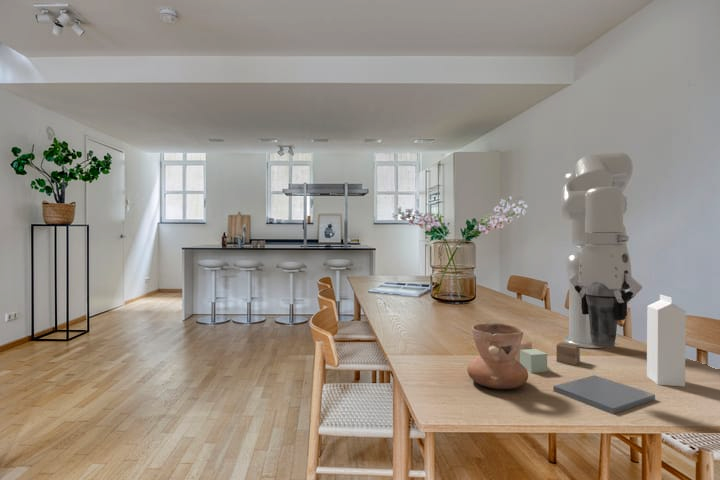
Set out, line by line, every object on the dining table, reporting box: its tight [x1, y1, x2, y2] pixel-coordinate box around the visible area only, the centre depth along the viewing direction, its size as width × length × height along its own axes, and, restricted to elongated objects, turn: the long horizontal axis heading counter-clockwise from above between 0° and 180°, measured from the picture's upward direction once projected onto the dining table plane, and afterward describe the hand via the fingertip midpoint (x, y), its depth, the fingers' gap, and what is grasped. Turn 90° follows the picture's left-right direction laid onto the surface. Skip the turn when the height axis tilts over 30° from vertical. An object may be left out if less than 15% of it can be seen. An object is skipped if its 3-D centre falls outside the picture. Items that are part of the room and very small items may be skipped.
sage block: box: [520, 348, 548, 374], centre depth 111 cm, size 5×5×5 cm
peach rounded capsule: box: [514, 339, 533, 363], centre depth 117 cm, size 6×6×6 cm
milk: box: [646, 293, 687, 388], centre depth 101 cm, size 6×6×22 cm
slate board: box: [552, 375, 656, 415], centre depth 93 cm, size 16×14×1 cm
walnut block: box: [555, 341, 581, 366], centre depth 118 cm, size 5×5×5 cm
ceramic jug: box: [466, 322, 529, 390], centre depth 100 cm, size 18×14×14 cm
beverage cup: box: [585, 282, 618, 349], centre depth 93 cm, size 7×7×20 cm
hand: (603, 316), depth 93 cm, fingers closed on beverage cup, 7 cm apart
